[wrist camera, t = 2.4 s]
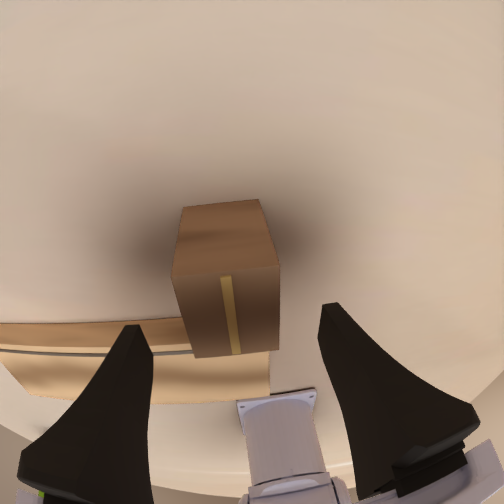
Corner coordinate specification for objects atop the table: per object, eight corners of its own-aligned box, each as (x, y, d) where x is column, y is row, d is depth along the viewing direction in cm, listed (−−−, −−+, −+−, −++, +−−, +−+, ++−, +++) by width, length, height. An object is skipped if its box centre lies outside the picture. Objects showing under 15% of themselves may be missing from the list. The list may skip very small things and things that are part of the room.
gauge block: (262, 297, 20) (278, 373, 15) (202, 303, 20) (202, 381, 15) (258, 198, 16) (280, 266, 11) (183, 206, 16) (170, 278, 11)
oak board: (265, 372, 25) (269, 396, 23) (36, 376, 23) (30, 395, 21) (263, 308, 20) (269, 336, 18) (-5, 323, 19) (-15, 343, 17)
